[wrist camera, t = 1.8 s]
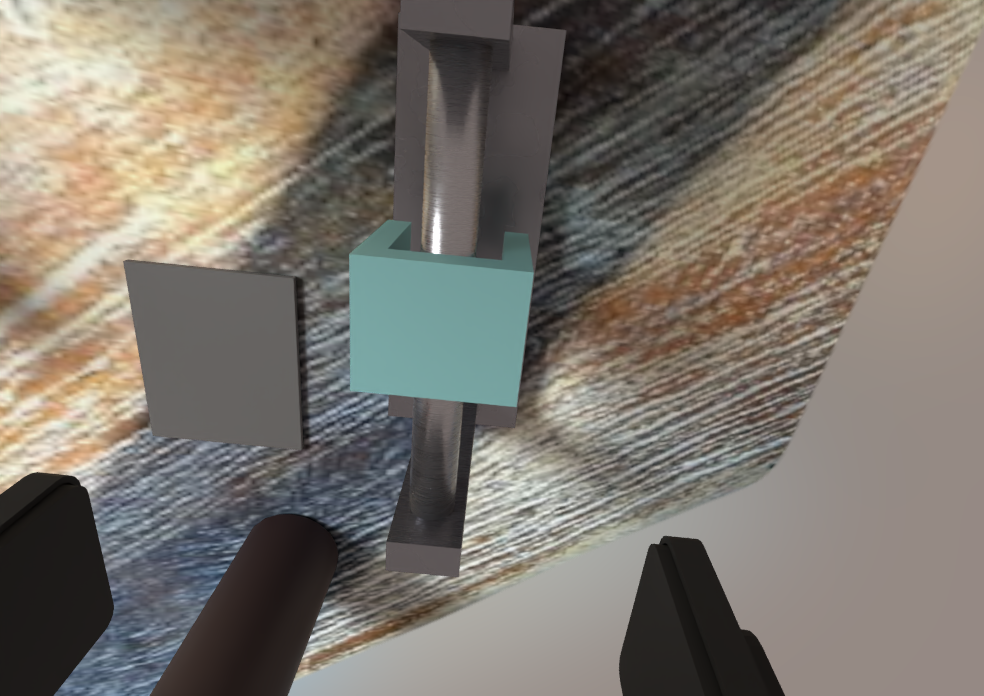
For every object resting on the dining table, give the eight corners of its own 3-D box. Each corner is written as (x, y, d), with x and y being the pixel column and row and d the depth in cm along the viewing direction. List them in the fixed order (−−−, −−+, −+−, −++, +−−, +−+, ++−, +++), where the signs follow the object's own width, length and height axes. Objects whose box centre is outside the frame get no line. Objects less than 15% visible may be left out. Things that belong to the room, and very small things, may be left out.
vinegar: (268, 587, 43) (87, 943, 25) (235, 518, 40) (6, 857, 22) (351, 575, 42) (230, 933, 24) (323, 504, 40) (162, 843, 21)
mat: (127, 259, 33) (123, 261, 33) (295, 276, 33) (293, 278, 33) (156, 432, 38) (152, 435, 37) (303, 446, 38) (301, 450, 37)
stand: (404, 17, 28) (305, -70, 14) (563, 34, 28) (613, -38, 14) (392, 404, 36) (325, 573, 23) (514, 415, 36) (517, 592, 23)
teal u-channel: (388, 219, 24) (349, 254, 18) (528, 234, 24) (533, 272, 18) (385, 328, 26) (350, 390, 20) (515, 341, 26) (516, 407, 20)
